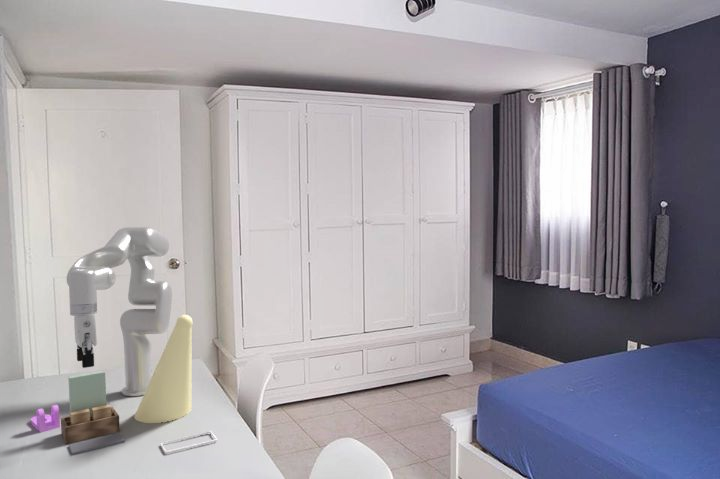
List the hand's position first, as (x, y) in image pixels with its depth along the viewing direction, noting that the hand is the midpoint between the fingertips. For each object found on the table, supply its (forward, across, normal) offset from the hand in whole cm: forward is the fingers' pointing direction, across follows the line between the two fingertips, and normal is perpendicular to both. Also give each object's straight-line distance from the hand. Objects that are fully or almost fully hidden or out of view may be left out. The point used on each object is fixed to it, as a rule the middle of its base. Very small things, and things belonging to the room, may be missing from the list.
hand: (85, 363), depth 168 cm
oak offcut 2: (+22, -4, -4) cm, 22 cm away
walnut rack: (+22, -1, -1) cm, 22 cm away
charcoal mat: (+22, -12, -1) cm, 25 cm away
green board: (+22, +1, -1) cm, 22 cm away
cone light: (+22, -2, -25) cm, 33 cm away
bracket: (+22, +16, +10) cm, 29 cm away
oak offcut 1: (+22, -4, +2) cm, 22 cm away
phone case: (+22, -28, -23) cm, 43 cm away
